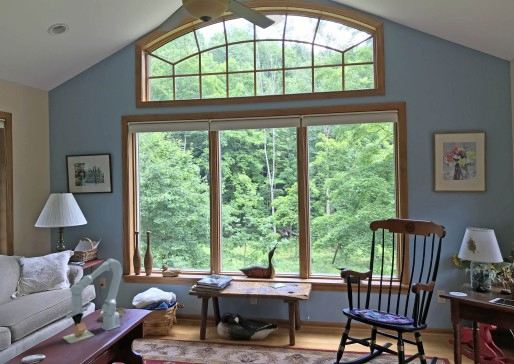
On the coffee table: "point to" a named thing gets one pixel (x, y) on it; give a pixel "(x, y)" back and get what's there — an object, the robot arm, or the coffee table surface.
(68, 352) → the coffee table surface
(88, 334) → the grey mat
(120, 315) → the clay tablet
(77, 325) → the terracotta block
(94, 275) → the robot arm
